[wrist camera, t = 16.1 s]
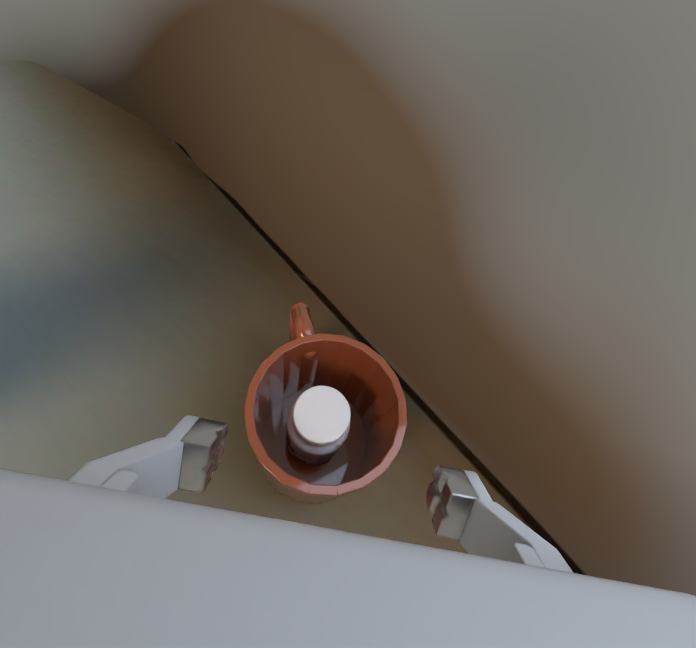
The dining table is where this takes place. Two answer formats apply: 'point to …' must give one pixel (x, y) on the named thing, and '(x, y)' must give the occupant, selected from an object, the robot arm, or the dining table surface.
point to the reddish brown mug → (353, 383)
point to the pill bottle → (317, 425)
